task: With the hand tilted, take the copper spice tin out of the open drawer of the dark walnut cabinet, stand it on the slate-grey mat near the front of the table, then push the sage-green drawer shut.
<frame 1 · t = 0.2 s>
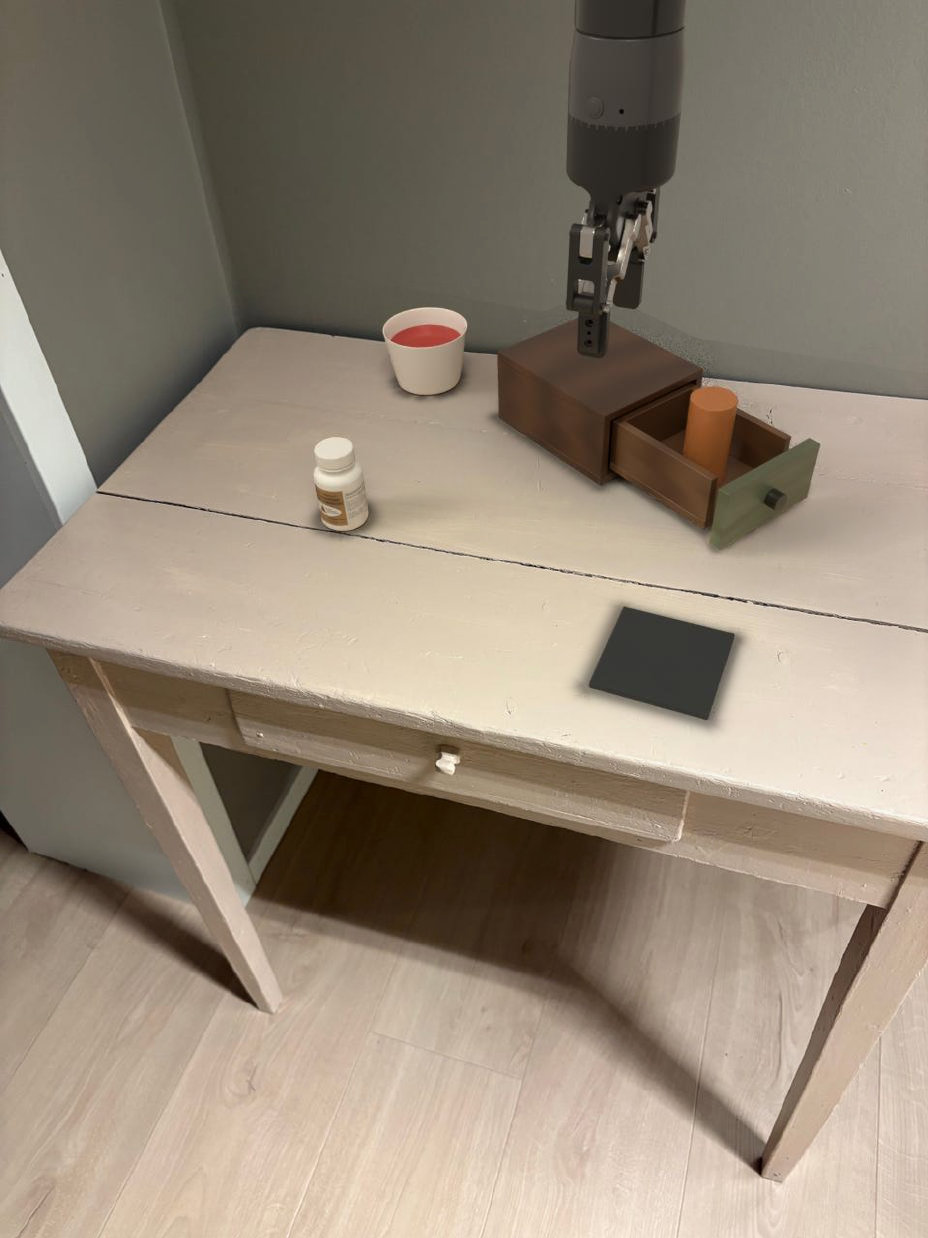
hand: (610, 329, 75), 18 cm above the table, tool pointing down, fingers open, 8 cm apart
mat: (662, 662, 74), on the table
spice tin: (702, 474, 88), point 2 cm above the table, touching drawer
candle: (429, 381, 106), on the table
drawer: (712, 462, 86), point 4 cm above the table, slide at 13.0 cm, touching spice tin
cabinet: (594, 427, 98), on the table
pill bottle: (345, 519, 89), on the table
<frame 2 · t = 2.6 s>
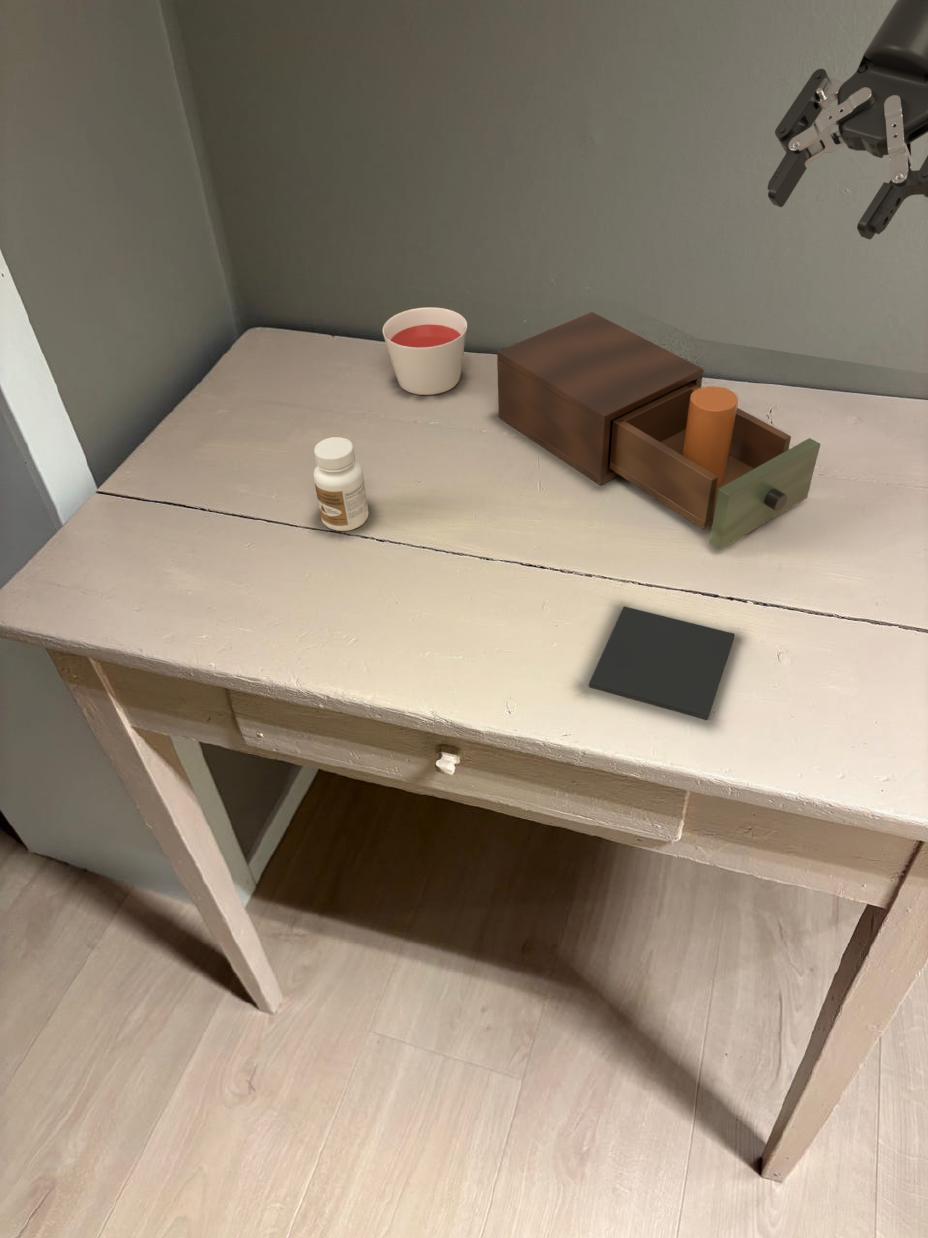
hand: (817, 217, 78), 22 cm above the table, tool tilted 45°, fingers open, 8 cm apart
nothing on the table moved.
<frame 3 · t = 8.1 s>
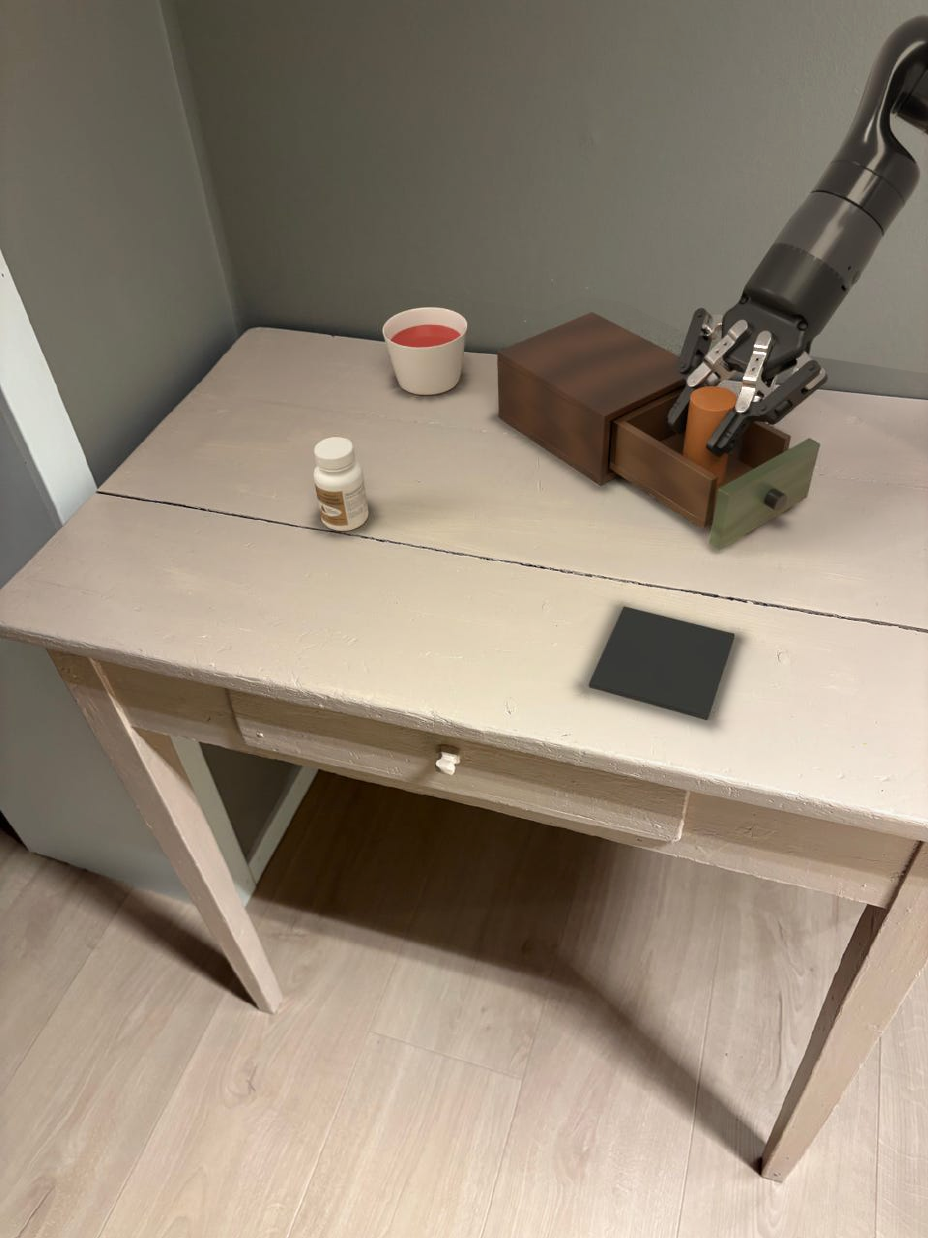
hand: (693, 440, 84), 7 cm above the table, tool tilted 45°, fingers closed on spice tin, 4 cm apart
spice tin: (702, 474, 88), point 2 cm above the table, touching drawer, gripper
everything else where it was.
when the fingers open (5 cm above the table, at t = 17.6 s): spice tin stays where it is, resting on mat.
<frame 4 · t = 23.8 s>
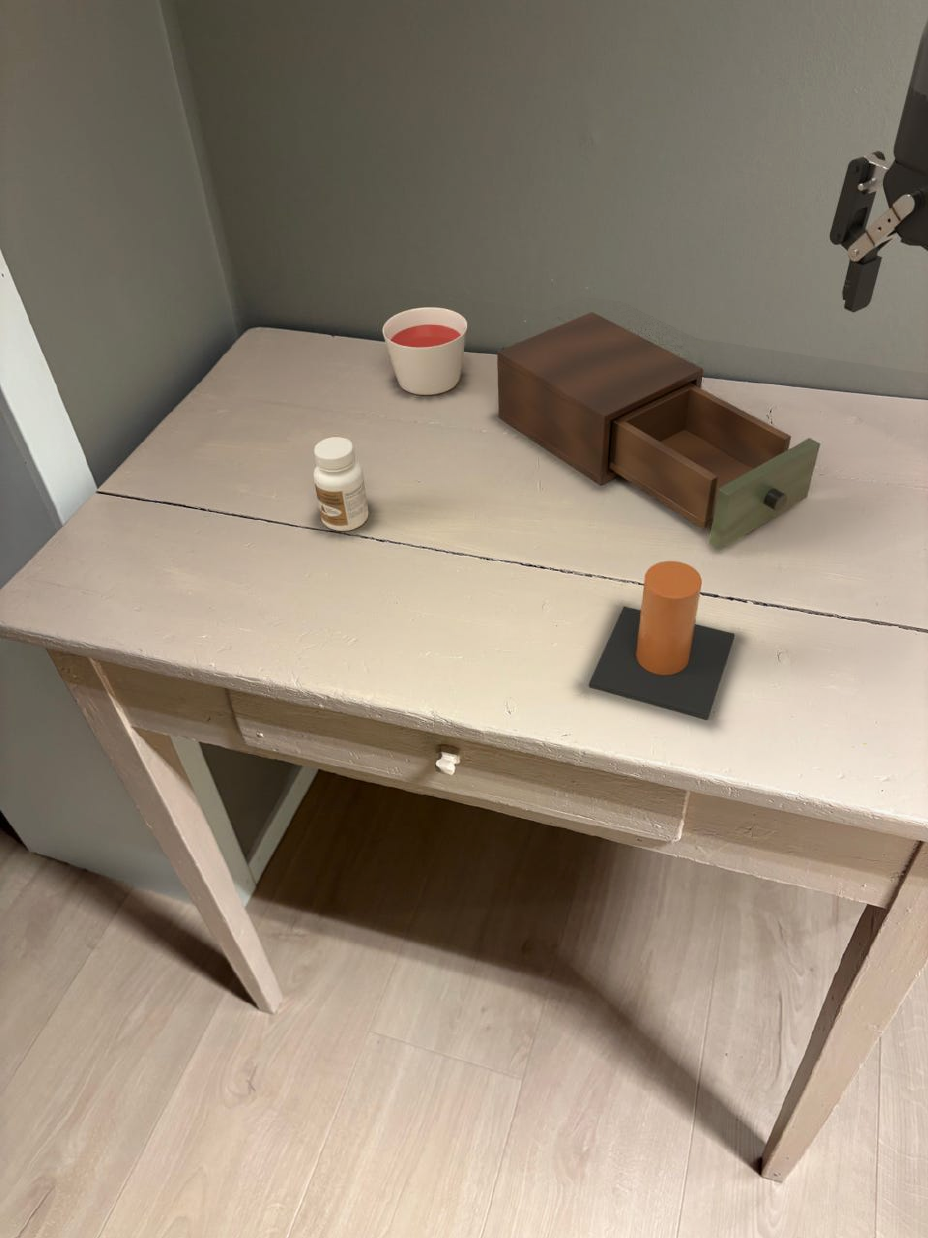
hand: (904, 328, 69), 20 cm above the table, tool pointing down, fingers open, 8 cm apart
spice tin: (662, 656, 74), resting on mat
drawer: (711, 462, 86), point 4 cm above the table, slide at 13.0 cm
everything else where it was.
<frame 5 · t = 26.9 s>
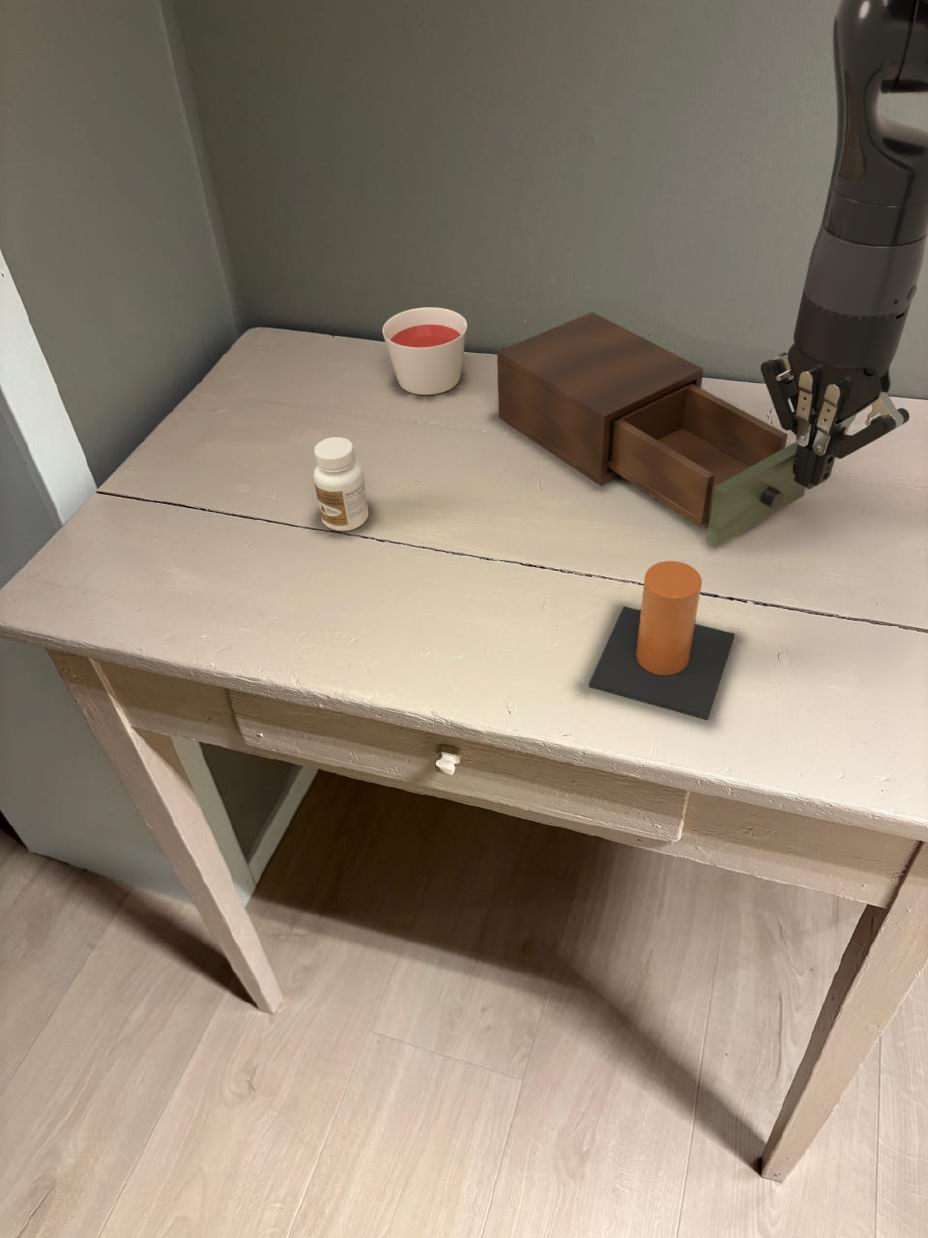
hand: (808, 482, 82), 5 cm above the table, tool pointing down, fingers closed
drawer: (708, 460, 86), point 4 cm above the table, slide at 12.6 cm, touching gripper
everything else where it was.
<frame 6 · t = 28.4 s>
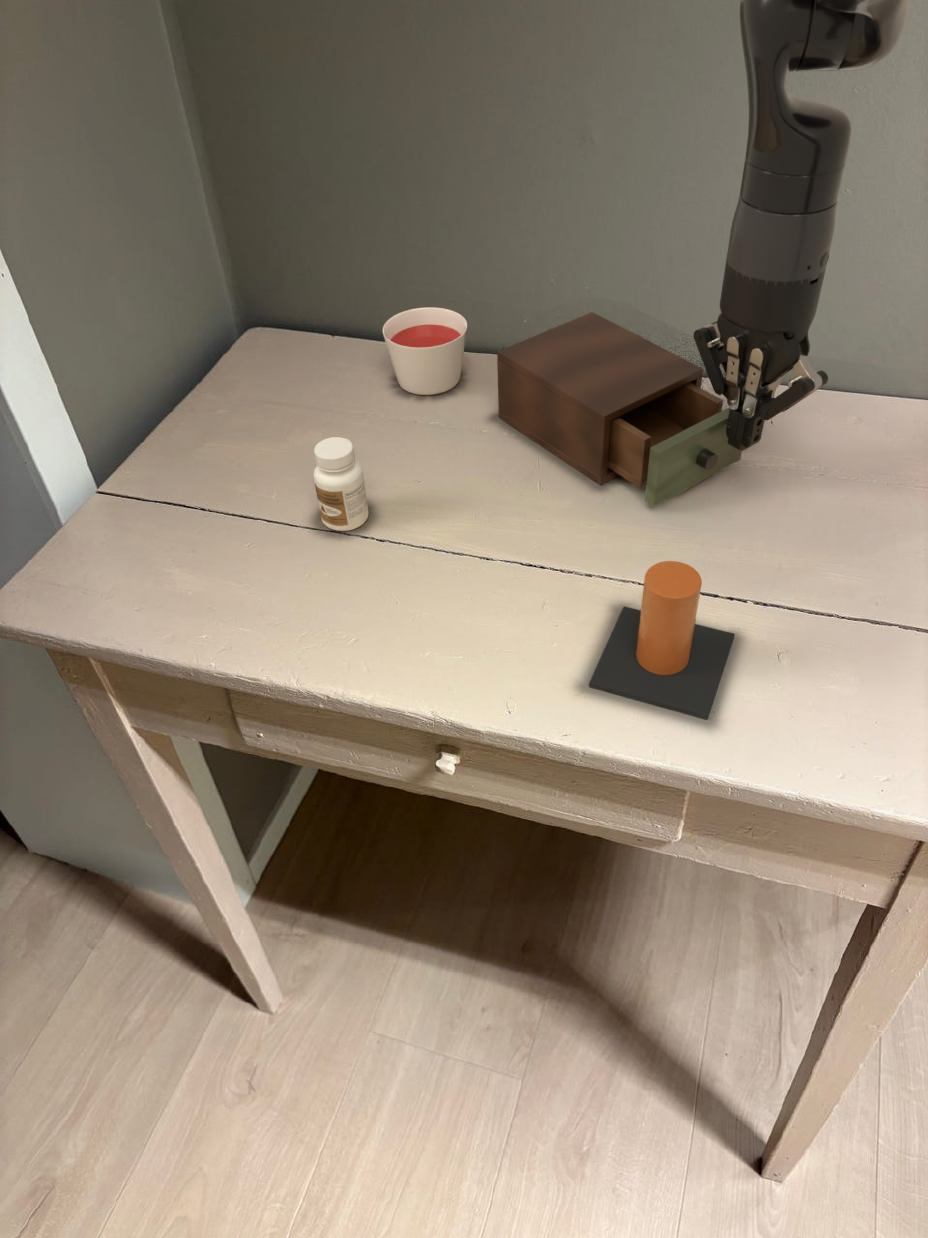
hand: (741, 444, 86), 5 cm above the table, tool pointing down, fingers closed
drawer: (649, 425, 91), point 4 cm above the table, slide at 5.2 cm, touching gripper
everything else where it was.
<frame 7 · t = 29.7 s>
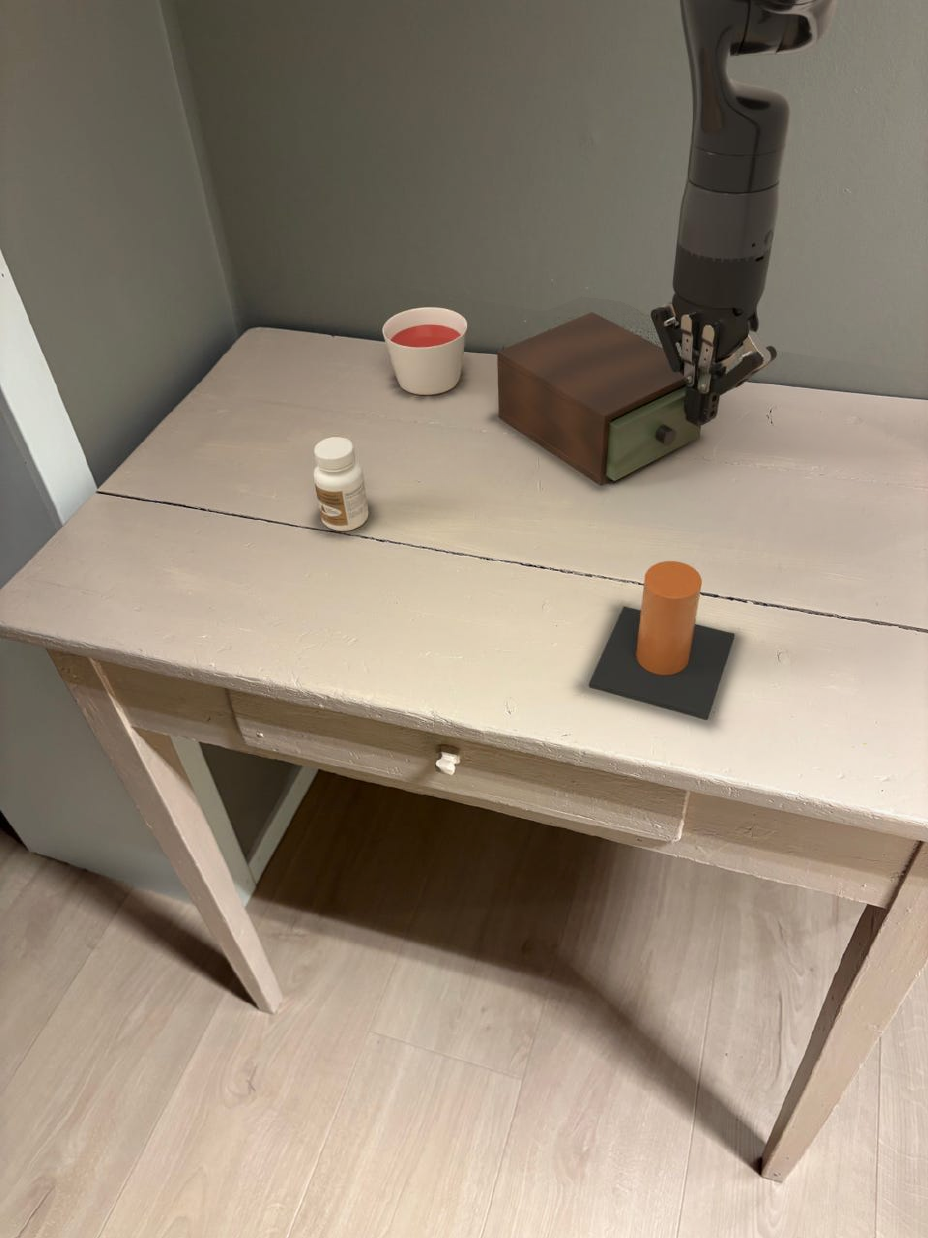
hand: (699, 420, 89), 5 cm above the table, tool pointing down, fingers closed
drawer: (612, 403, 94), point 4 cm above the table, slide at 0.0 cm, touching cabinet, gripper
everything else where it was.
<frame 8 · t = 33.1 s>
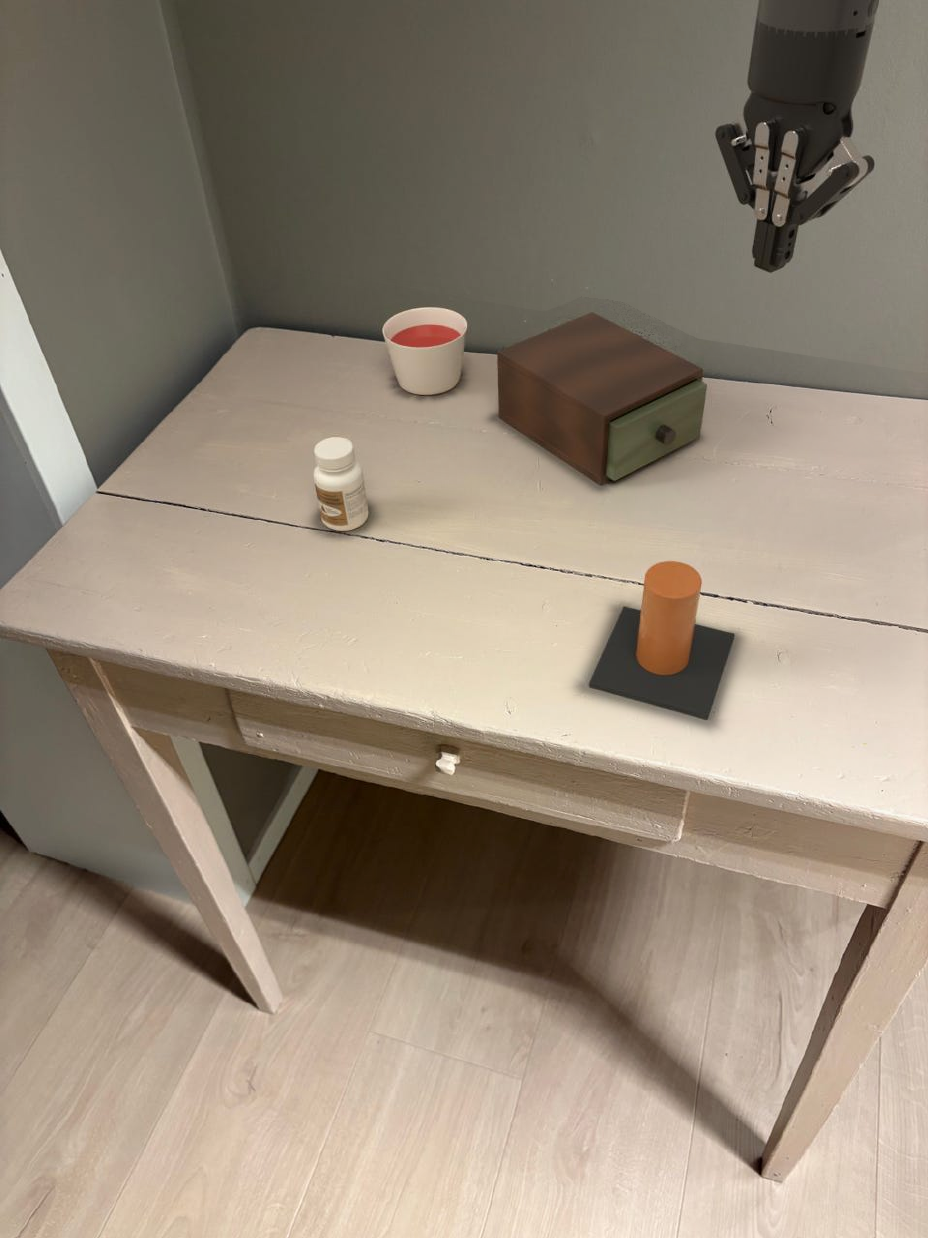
hand: (770, 266, 75), 21 cm above the table, tool pointing down, fingers closed
drawer: (612, 403, 94), point 4 cm above the table, slide at 0.0 cm
everything else where it was.
at the end: spice tin 0.1 cm off-centre on the mat, point 0.5 cm above the mat's base; spice tin tilted 0°; drawer slide at 0.0 cm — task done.
